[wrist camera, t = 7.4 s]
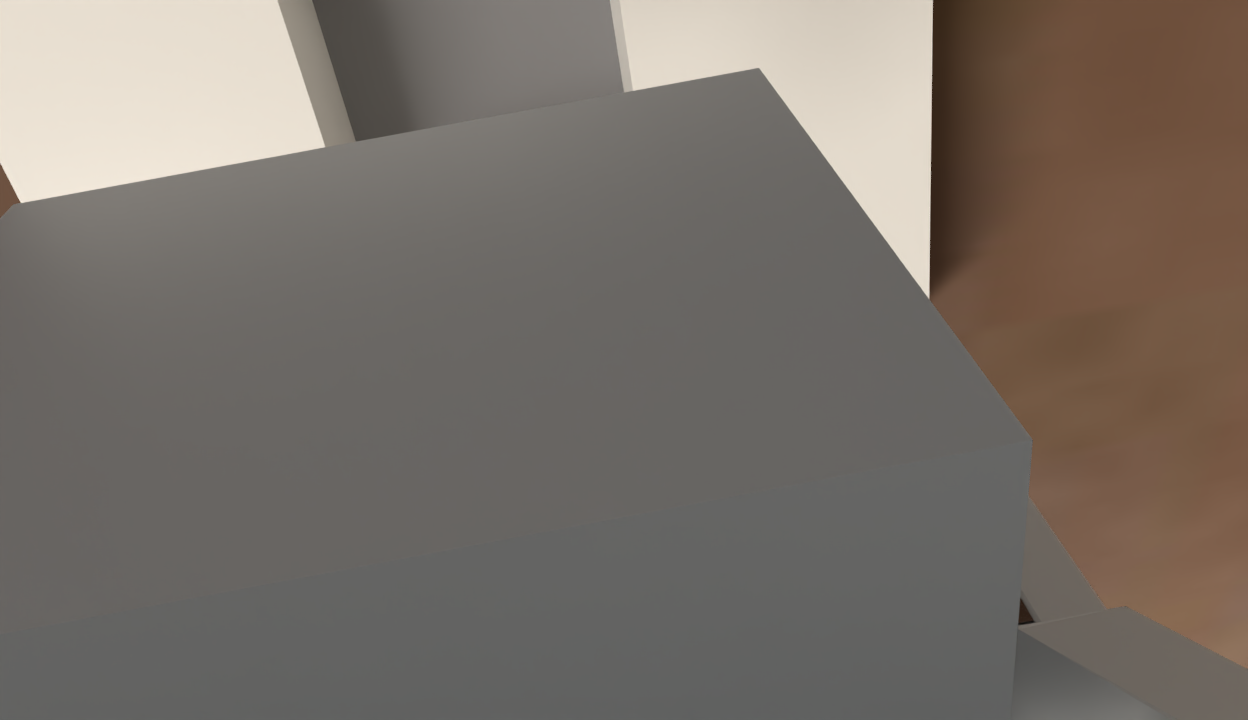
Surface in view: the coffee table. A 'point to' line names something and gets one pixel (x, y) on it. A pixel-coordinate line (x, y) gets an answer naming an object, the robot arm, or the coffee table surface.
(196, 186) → the plug
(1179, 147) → the coffee table surface
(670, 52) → the socket plate
